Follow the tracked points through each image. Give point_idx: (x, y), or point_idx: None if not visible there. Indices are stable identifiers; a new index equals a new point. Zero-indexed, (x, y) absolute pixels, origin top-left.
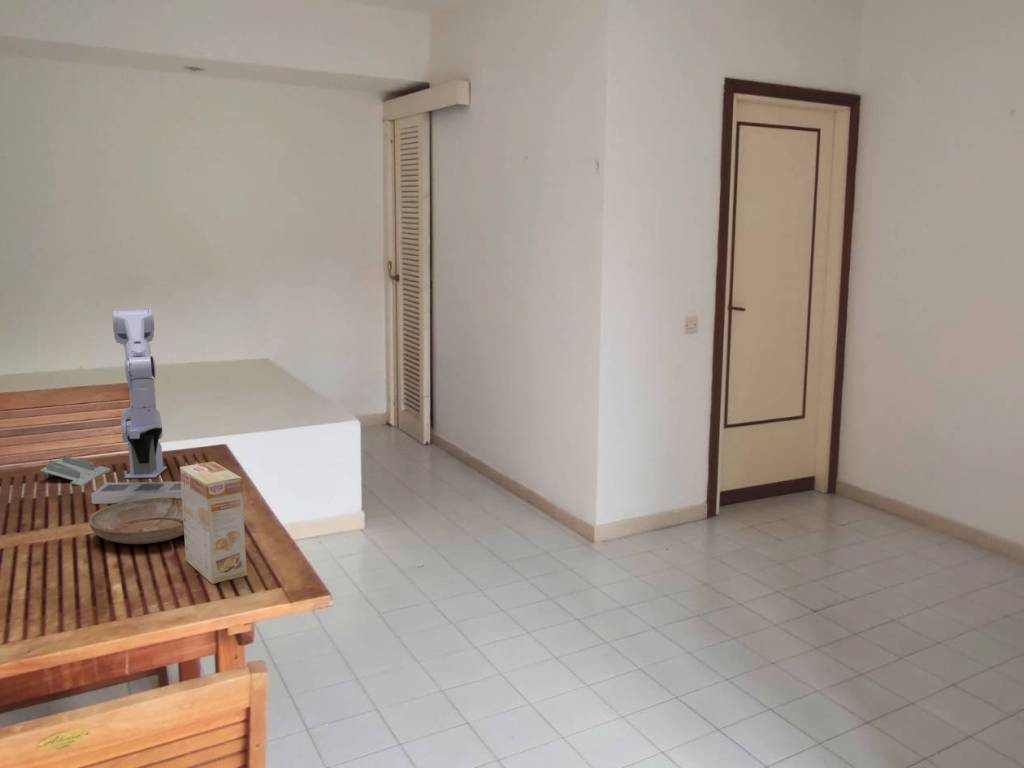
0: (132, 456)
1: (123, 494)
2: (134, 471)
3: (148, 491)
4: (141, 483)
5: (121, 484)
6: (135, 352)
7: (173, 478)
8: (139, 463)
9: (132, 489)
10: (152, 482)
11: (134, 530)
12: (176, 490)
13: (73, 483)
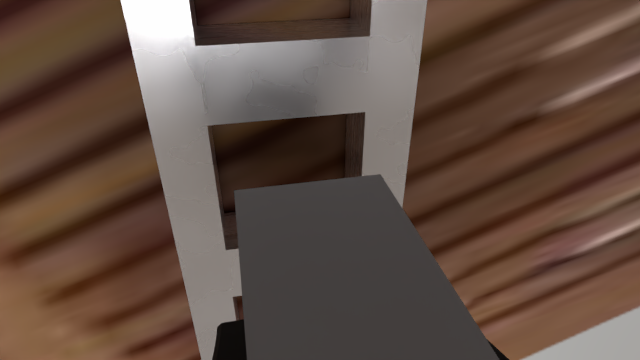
0: (244, 325)
1: (139, 71)
2: (236, 210)
3: (200, 216)
4: (383, 101)
5: None
6: None
7: (608, 132)
8: (219, 325)
9: (240, 100)
10: (396, 159)
11: None
12: None
13: None
